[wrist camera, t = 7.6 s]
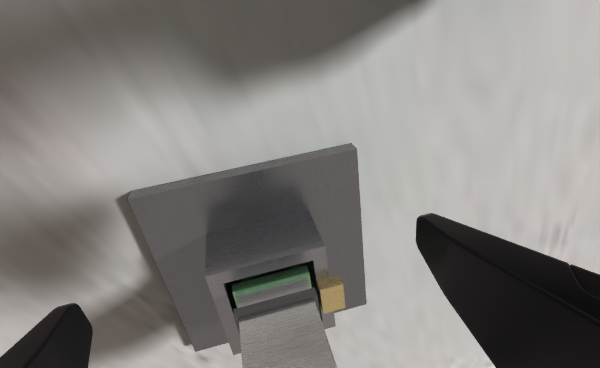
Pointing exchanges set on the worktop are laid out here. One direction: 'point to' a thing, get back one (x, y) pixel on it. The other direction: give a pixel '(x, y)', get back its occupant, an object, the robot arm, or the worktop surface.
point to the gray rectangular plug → (281, 322)
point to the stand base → (256, 236)
